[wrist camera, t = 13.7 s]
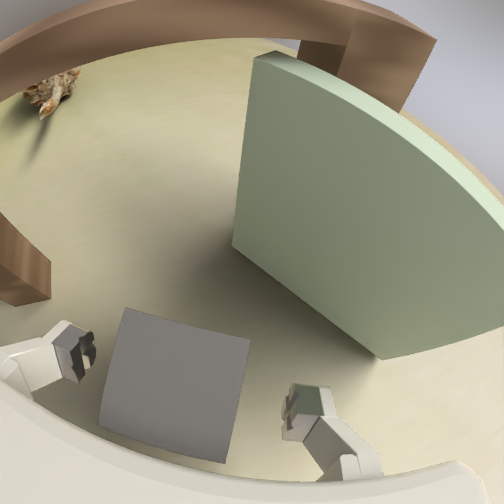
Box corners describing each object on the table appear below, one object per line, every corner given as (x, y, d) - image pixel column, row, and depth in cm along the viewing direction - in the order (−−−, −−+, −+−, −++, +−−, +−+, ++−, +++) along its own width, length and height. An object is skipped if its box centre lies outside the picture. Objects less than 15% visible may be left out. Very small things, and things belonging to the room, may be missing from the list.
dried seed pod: (27, 96, 27) (11, 50, 18) (77, 68, 30) (66, 20, 21) (37, 167, 21) (-2, 95, 12) (113, 121, 24) (94, 41, 15)
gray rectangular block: (235, 358, 16) (250, 339, 8) (222, 419, 14) (224, 463, 6) (172, 342, 16) (125, 307, 8) (158, 402, 14) (97, 424, 6)
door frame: (307, 205, 21) (390, 10, 7) (321, 237, 20) (436, 39, 6) (16, 271, 16) (-108, 142, 2) (15, 306, 15) (-132, 190, 1)
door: (231, 245, 19) (253, 57, 7) (257, 219, 20) (298, 43, 8) (382, 360, 16) (553, 302, 5) (398, 327, 17) (551, 247, 6)
